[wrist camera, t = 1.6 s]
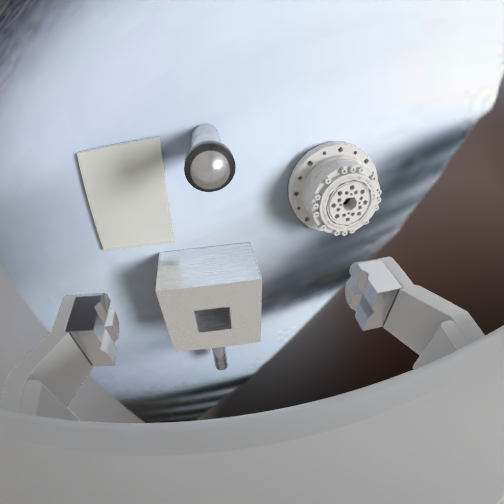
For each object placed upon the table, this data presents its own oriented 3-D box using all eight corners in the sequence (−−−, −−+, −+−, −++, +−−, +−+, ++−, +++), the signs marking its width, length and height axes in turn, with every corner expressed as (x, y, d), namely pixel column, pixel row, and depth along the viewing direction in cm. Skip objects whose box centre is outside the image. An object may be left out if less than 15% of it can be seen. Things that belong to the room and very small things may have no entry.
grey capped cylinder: (185, 121, 23) (181, 149, 16) (222, 118, 24) (235, 144, 17) (188, 154, 25) (187, 197, 18) (223, 151, 26) (237, 192, 19)
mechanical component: (286, 229, 32) (364, 219, 34) (298, 253, 29) (382, 240, 30) (287, 141, 26) (376, 140, 27) (302, 156, 23) (399, 154, 24)
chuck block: (159, 252, 31) (155, 291, 26) (250, 242, 32) (262, 278, 27) (186, 352, 42) (189, 386, 37) (251, 344, 44) (259, 377, 39)
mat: (78, 151, 22) (76, 153, 22) (159, 136, 24) (159, 138, 23) (105, 247, 29) (103, 251, 29) (175, 239, 30) (175, 242, 30)
